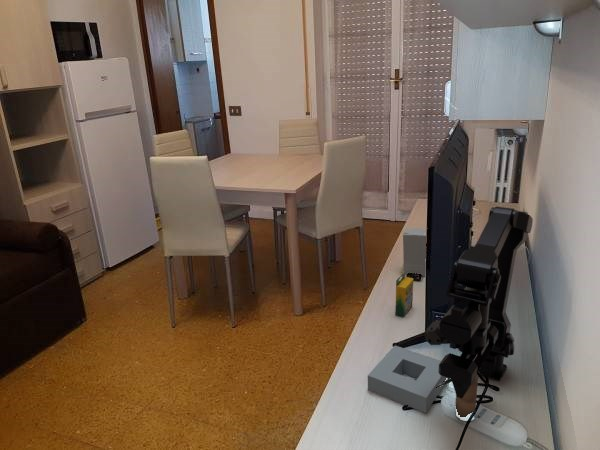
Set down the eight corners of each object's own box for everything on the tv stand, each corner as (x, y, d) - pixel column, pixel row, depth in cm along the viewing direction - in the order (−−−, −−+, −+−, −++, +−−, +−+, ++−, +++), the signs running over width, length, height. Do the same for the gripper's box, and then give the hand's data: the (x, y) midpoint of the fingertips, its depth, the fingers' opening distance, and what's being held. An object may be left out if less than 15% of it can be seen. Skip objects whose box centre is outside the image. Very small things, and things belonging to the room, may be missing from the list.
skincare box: (429, 269, 166) (430, 227, 161) (426, 278, 160) (428, 235, 155) (405, 267, 169) (406, 226, 164) (401, 275, 163) (402, 233, 158)
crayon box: (404, 318, 136) (405, 282, 132) (394, 315, 137) (395, 280, 134) (413, 307, 142) (414, 272, 138) (403, 304, 143) (404, 270, 139)
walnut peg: (458, 405, 101) (461, 367, 98) (477, 412, 98) (480, 373, 95) (452, 416, 98) (454, 377, 95) (471, 424, 96) (474, 384, 92)
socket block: (394, 358, 118) (394, 345, 116) (449, 377, 110) (449, 363, 108) (367, 389, 107) (367, 375, 106) (425, 413, 99) (426, 397, 98)
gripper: (448, 289, 102) (445, 349, 107) (413, 329, 88) (411, 396, 93) (501, 302, 96) (495, 365, 101) (473, 347, 82) (467, 418, 87)
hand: (467, 384), depth 96 cm, fingers open, 9 cm apart
